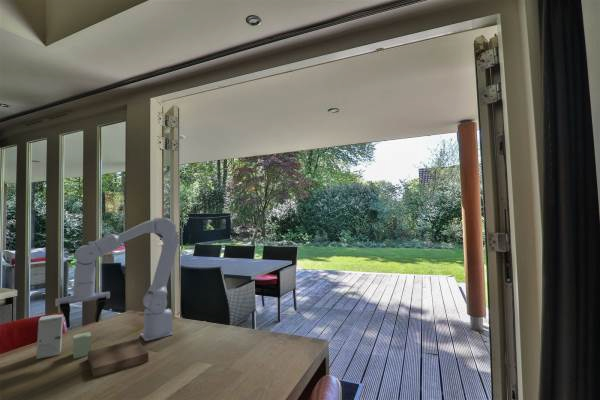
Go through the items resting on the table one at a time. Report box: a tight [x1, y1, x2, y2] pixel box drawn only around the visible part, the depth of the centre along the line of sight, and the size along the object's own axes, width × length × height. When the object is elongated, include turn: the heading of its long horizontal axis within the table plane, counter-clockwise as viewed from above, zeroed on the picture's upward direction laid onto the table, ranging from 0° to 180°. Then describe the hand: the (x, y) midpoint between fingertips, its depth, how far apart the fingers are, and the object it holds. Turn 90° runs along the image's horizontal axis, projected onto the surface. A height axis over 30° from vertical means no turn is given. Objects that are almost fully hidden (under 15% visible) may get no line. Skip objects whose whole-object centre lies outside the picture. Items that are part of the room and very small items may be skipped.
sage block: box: [72, 331, 93, 359], centre depth 98 cm, size 4×4×6 cm
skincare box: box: [35, 313, 64, 360], centre depth 98 cm, size 6×4×12 cm
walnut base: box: [87, 338, 149, 378], centre depth 93 cm, size 14×14×2 cm
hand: (82, 324), depth 98 cm, fingers open, 7 cm apart
